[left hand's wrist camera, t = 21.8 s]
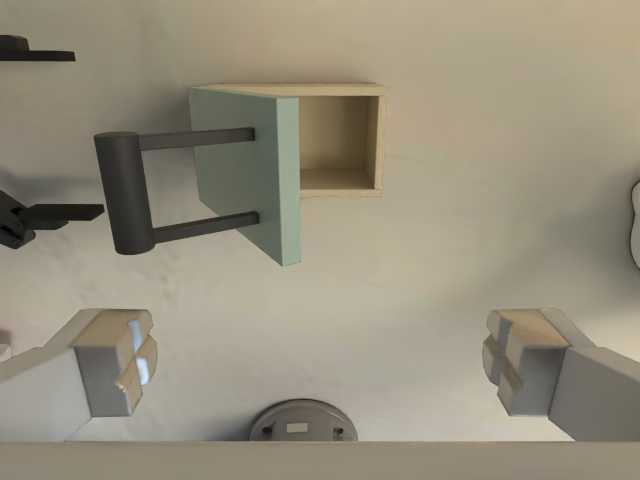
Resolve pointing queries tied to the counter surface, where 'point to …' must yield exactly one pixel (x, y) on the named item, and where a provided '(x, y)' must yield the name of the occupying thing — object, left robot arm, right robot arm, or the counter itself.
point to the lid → (215, 173)
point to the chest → (335, 135)
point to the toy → (5, 352)
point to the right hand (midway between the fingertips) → (83, 139)
